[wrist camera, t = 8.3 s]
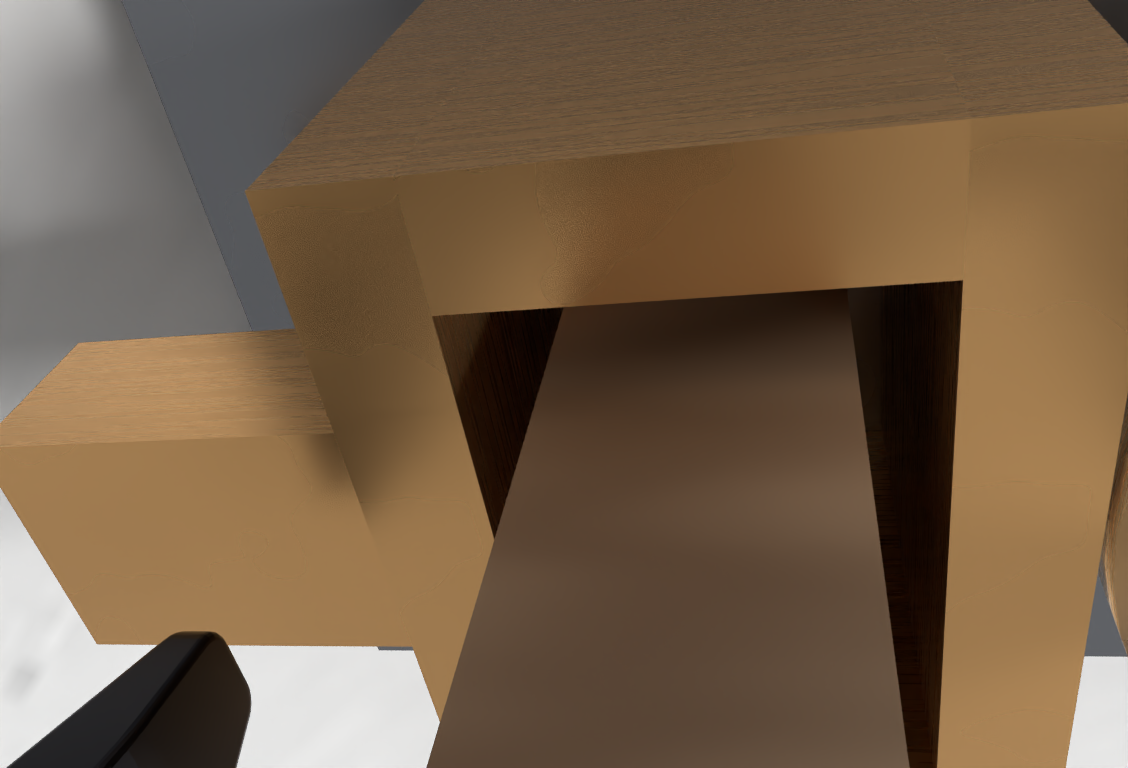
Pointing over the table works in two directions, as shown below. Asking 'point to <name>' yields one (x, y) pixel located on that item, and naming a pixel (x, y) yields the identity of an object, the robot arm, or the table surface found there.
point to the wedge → (686, 553)
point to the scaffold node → (610, 276)
